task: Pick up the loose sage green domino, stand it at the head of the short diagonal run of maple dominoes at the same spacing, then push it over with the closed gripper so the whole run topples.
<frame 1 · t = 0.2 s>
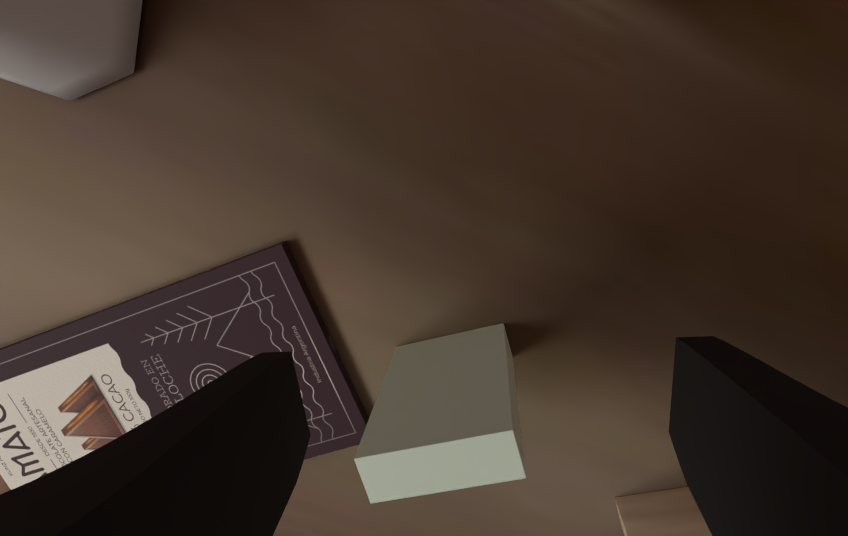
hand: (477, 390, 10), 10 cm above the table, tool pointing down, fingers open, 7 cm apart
maple domino 2: (672, 504, 21), on the table
sage domino: (453, 352, 21), on the table
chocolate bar: (160, 393, 23), on the table
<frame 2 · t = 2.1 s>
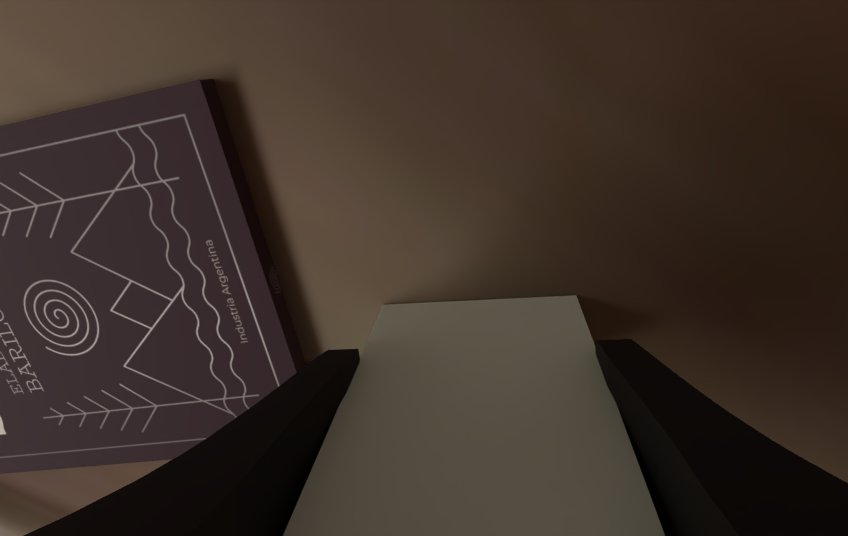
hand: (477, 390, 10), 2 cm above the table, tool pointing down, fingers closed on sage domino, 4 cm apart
sage domino: (479, 329, 12), on the table, touching gripper
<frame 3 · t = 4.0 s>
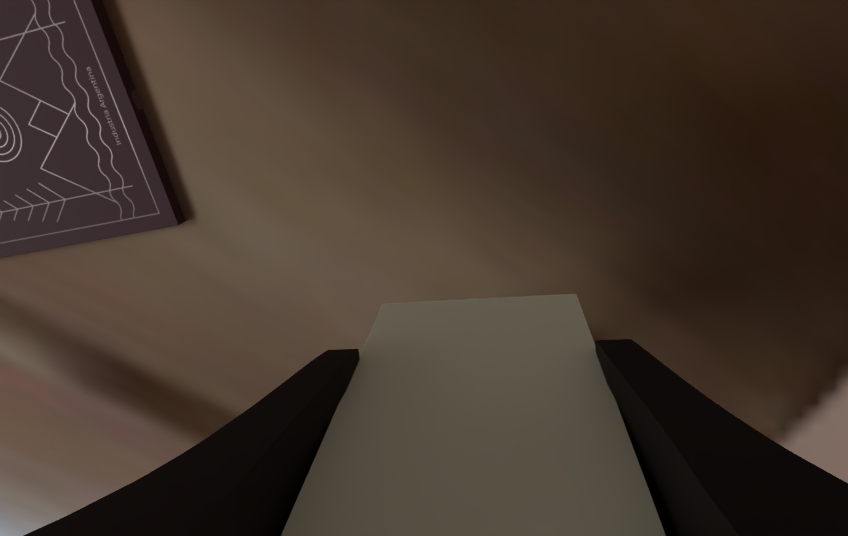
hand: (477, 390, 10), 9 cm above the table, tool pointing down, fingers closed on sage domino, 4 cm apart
sage domino: (478, 327, 12), point 7 cm above the table, touching gripper
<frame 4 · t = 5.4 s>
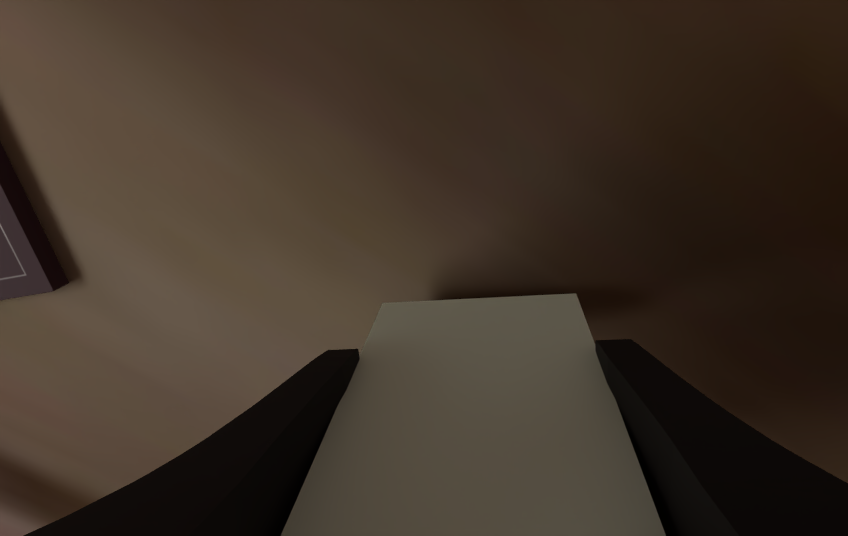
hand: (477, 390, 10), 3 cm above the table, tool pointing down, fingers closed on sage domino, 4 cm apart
sage domino: (478, 327, 12), point 1 cm above the table, touching gripper
when the fingers open (3 cm above the table, at t = 6.2 s): sage domino drops 1 cm, on the table.
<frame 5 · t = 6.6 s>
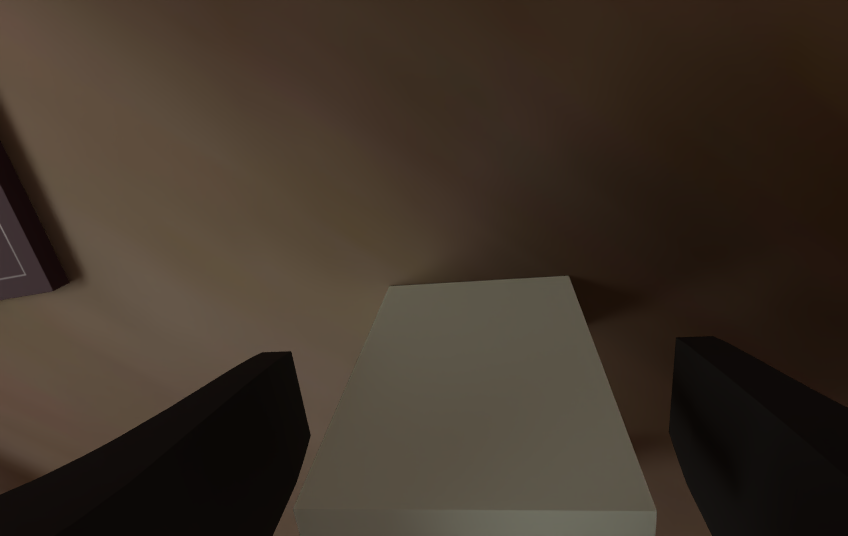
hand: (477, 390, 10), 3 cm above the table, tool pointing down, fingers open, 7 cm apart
sage domino: (478, 308, 13), on the table
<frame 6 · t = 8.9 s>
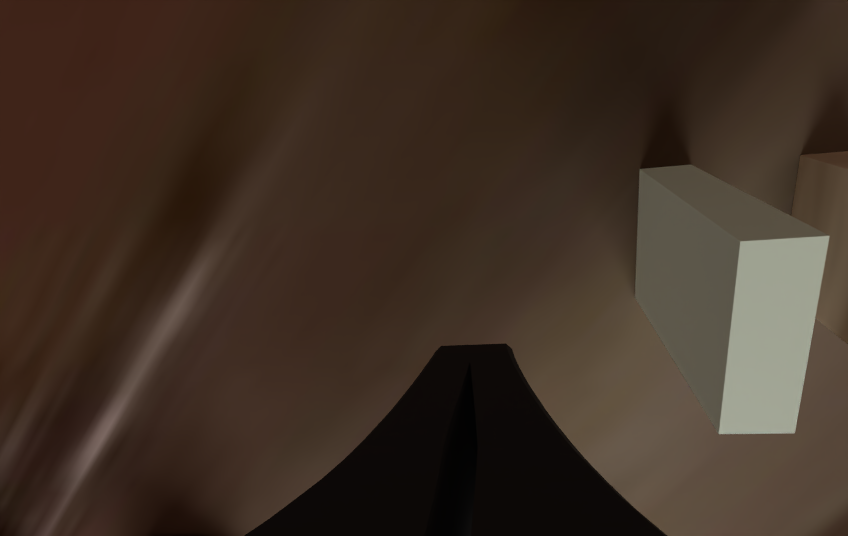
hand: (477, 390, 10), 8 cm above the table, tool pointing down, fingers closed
maple domino 2: (815, 224, 16), on the table
sage domino: (661, 234, 17), on the table
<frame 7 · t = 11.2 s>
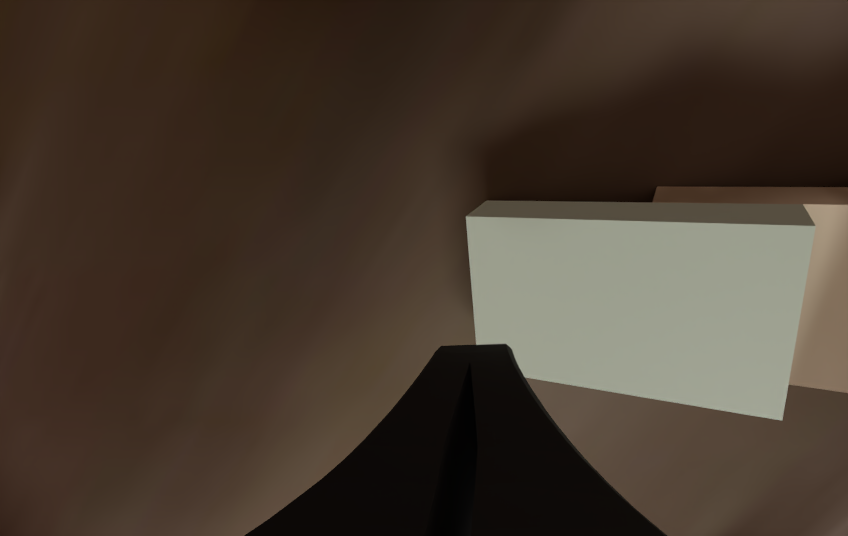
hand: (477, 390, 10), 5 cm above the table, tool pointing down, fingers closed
maple domino 2: (649, 276, 13), point 1 cm above the table, tilted 71°, touching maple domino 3, sage domino
sage domino: (482, 286, 14), point 1 cm above the table, tilted 70°, touching maple domino 2
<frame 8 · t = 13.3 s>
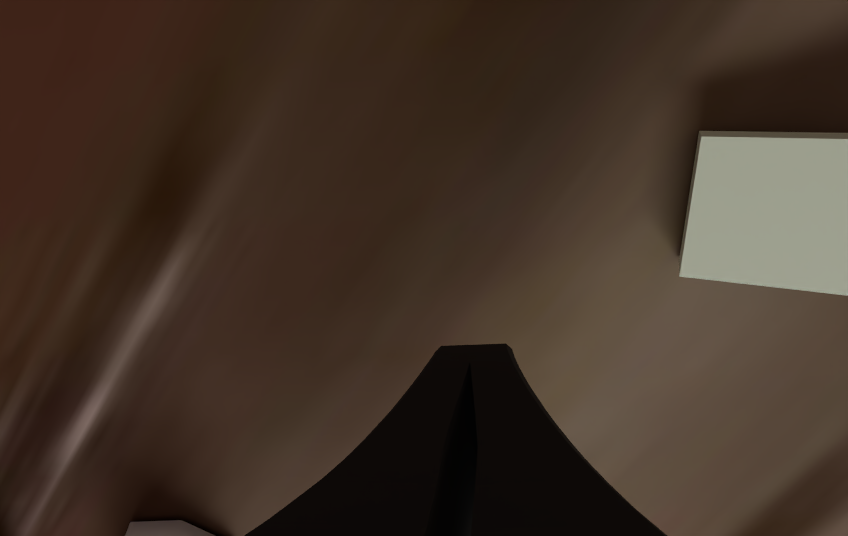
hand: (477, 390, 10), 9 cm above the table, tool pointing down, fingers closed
sage domino: (689, 204, 16), point 1 cm above the table, tilted 73°, touching maple domino 2
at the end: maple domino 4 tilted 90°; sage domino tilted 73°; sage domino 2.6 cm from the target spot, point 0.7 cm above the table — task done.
